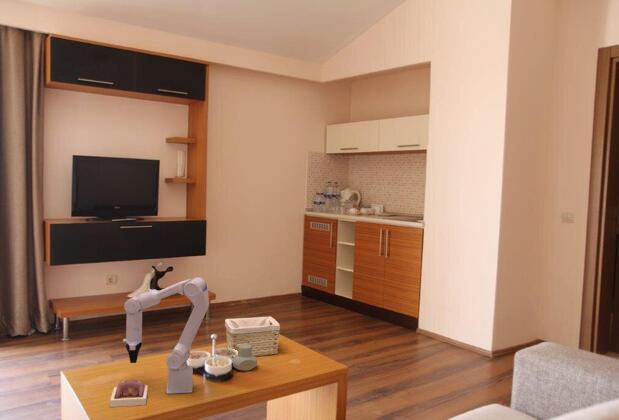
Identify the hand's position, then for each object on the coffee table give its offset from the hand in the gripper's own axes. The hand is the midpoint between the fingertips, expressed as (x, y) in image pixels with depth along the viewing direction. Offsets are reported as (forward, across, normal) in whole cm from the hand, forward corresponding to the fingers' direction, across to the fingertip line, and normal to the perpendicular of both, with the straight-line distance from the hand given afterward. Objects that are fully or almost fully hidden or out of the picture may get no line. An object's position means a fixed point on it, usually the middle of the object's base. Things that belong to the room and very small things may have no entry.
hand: (133, 362), depth 203 cm
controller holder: (+9, +11, 0) cm, 14 cm away
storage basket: (+10, -34, +51) cm, 62 cm away
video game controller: (+10, +10, 0) cm, 14 cm away
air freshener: (+10, -13, +45) cm, 48 cm away
